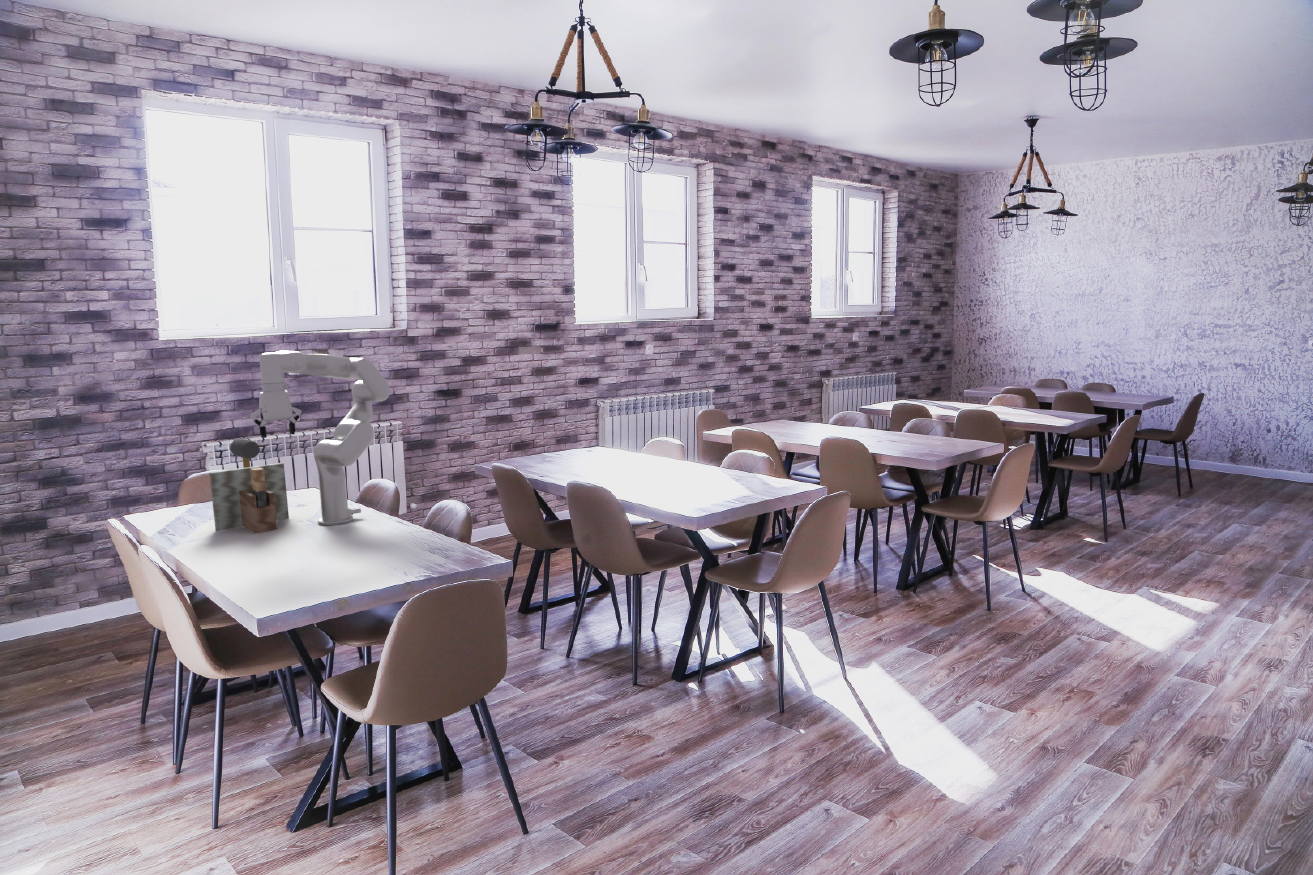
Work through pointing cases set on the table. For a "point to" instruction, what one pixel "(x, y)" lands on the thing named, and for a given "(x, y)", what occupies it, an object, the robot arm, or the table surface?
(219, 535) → the table surface
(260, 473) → the brown and grey block
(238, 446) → the rubber mallet
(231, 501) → the grey patterned screen
